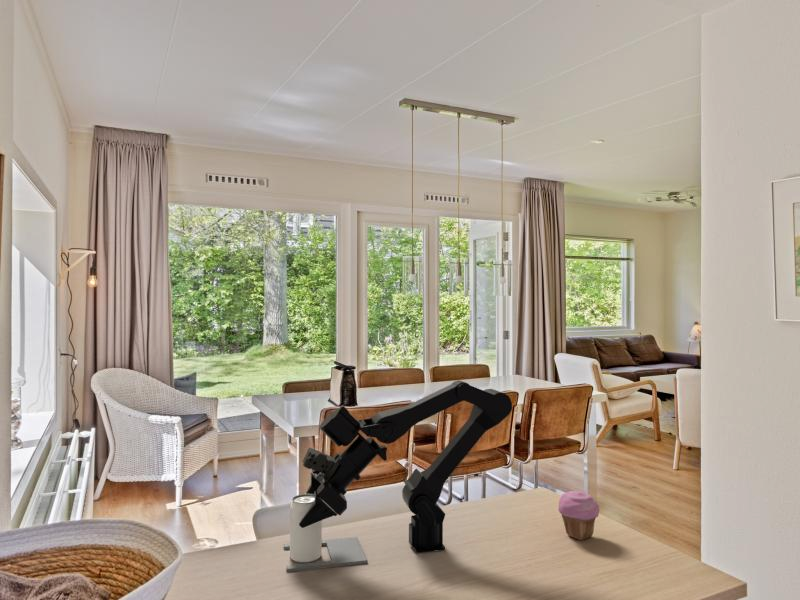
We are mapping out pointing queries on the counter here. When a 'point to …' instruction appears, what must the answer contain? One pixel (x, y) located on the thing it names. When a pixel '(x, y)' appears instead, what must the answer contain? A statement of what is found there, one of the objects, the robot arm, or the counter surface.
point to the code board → (335, 555)
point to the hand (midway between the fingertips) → (299, 517)
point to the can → (304, 531)
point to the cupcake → (578, 514)
